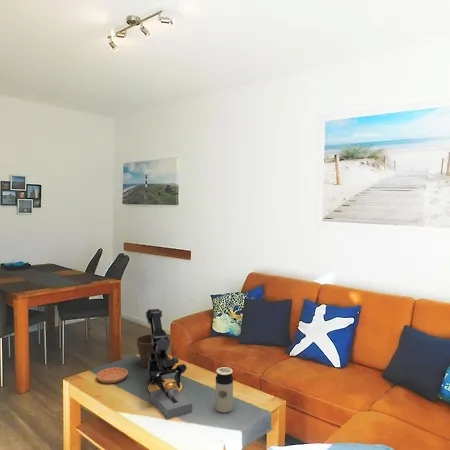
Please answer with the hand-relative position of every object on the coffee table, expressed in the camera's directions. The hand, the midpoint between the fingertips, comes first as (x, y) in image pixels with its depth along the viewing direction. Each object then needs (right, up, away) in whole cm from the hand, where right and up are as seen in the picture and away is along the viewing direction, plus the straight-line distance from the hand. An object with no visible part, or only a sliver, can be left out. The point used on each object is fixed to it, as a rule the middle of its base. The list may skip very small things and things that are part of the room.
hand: (171, 390), depth 184 cm
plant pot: (-19, -5, +46) cm, 50 cm away
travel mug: (+24, -9, 0) cm, 26 cm away
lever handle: (-1, -7, +2) cm, 7 cm away
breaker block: (-1, -8, +2) cm, 8 cm away
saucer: (-36, -6, +29) cm, 47 cm away
